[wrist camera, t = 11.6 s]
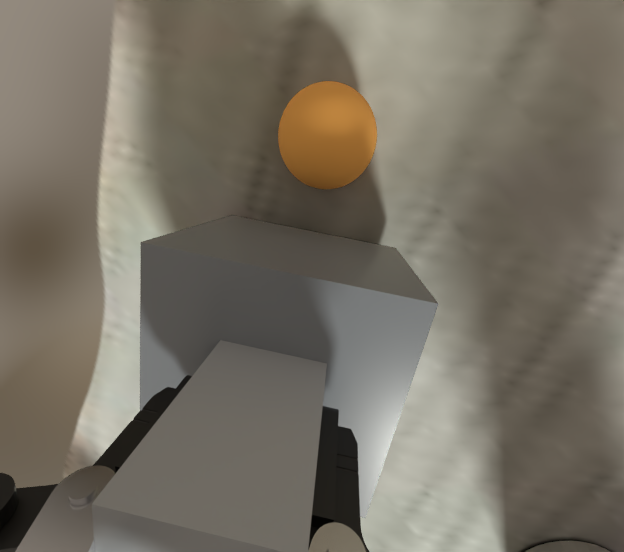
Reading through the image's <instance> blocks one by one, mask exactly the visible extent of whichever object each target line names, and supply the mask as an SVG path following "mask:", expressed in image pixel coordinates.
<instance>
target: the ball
mask: <svg viewBox="0 0 624 552" xmlns="http://www.w3.org/2000/svg"><path fill="white" fill-rule="evenodd" d="M376 141H377V128H376V122H375V118H374V115H373V112H372V110H371V108H370V106H369V104H368V103H367V101H366V100H365V99H364V97H363V96H362V95H361V94H360V93H358V92H357V91H356V90H355V89H353V88H352V87H350V86H348V85H345V84H343V83H339V82H334V81H322V82H318V83H314V84H311V85H309V86H307V87H305V88H303V89H302V90H301V91H299V92H298V93H297V94H296V95H295V96H294V97H293V98H292V99H291V101H290V102H289V103H288V105H287V106H286V108H285V110H284V112H283V115H282V117H281V120H280V124H279V130H278V142H279V148H280V153H281V156H282V158H283V161H284V163H285V165H286V166H287V168H288V169H289V171H290V172H291V173H292V174H293V175H294V176H295V177H296V178H297V179H298V180H300V181H301V182H303V183H304V184H306V185H308V186H311V187H314V188H317V189H336V188H339V187H343V186H345V185H347V184H349V183H351V182H352V181H354V180H355V179H356V178H358V177H359V176H360V175H361V174H362V173H363V172H364V170H365V169H366V168H367V166H368V164H369V163H370V161H371V159H372V156H373V154H374V150H375V147H376Z"/></svg>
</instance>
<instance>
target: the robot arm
mask: <svg viewBox="0 0 624 552" xmlns="http://www.w3.org/2000/svg"><path fill="white" fill-rule="evenodd" d="M191 377H192V376H190V375H187V376H186V377H185V378H184V379H183V380H182V381H181V383H180V384H179V385H178V386H177V388H176V389H175V388H171V387H166V388H165V389H163V390H162V391H160V392H158V393H157V394H155V395H154V396H152V398H151V399H150V400H149V401H148V402H147V403H146V405H145V406H144V407H143V409H142V411H141V410H140V412H139V413H138V414H137V415H136V416H135V417H134V420H133V421H131V422H130V423H129V424H128V426H127V427H126V428H125V429H124V430H123V431H122V433H121V434H120V435H119V436H118V437H117V438H116V440H115V441H114V442H113V443H112V444H111V445H110V447H109V448H108V449H107V450H106V451H105V452H104V454H103V455H102V456H101V457H100V458H99V459H98V461H97V462H96V463H95V464H94V465H93V466H90V467H86V468H83V469H80V470H78V471H76V472H74V473H72V474H71V475H69V476H68V477H66V478H65V479H64V480H62V481H61V482H60V483H59V484H55V485H48V486H37V487H27V488H16V487H15V483H14V480H13V478H12V477H11V476H9V475H7V474H4V473H0V552H96V551H95V538H94V532H93V517H92V503H93V502H94V501H95V499H96V498H97V497H98V495H99V494H100V493H101V492H102V490H103V489H104V488H105V487H106V485H107V484H108V483H109V481H110V480H111V479H112V478H113V476H114V475H115V474H116V473H117V471H118V470H119V469H120V467H121V466H122V465H123V464H124V462H125V461H126V460H127V459H128V457H129V456H130V455H131V453H132V452H133V451H134V450H135V448H136V447H137V446H138V445H139V443H140V442H141V441H142V439H143V438H144V437H145V436H146V434H147V433H148V432H149V431H150V429H151V428H152V427H153V425H154V424H155V423H156V422H157V420H158V419H159V418H160V417H161V415H162V414H163V413H164V411H165V410H166V409H167V408H168V406H169V405H170V404H171V403H172V401H173V400H174V399H175V398H176V396H177V395H178V394H179V392H180V391H181V390H182V389H183V387H184V386H185V385H186V384H187V382H188V381H189V380H190V378H191ZM338 418H339V410H338V409H335V408H330V407H326V406H323V408H322V418H321V428H320V438H319V448H318V458H317V468H316V477H315V487H314V497H313V507H312V517H311V527H310V537H309V547H308V552H369V550H368V549H367V547H366V545H365V543H364V540H363V537H362V533H361V526H360V499H359V475H358V471H359V470H358V443H357V441H356V439H355V437H354V434H353V432H352V430H351V429H349V428H345V427H340V426H338ZM525 552H610V551H608V550H607V549H605V548H602V547H600V546H598V545H595V544H591V543H587V542H580V541H556V542H549V543H545V544H542V545H538V546H535V547H533V548H531V549H529V550H527V551H525Z"/></svg>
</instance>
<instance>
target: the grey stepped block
mask: <svg viewBox="0 0 624 552" xmlns="http://www.w3.org/2000/svg"><path fill="white" fill-rule="evenodd" d="M437 306H438V303H437V301H436V300H435V299H434V297H433V296H432V295H431V294H430V292H429V291H428V290H427V288H426V287H425V286H424V284H423V283H422V282H421V280H420V279H419V278H418V276H417V275H416V274H415V273H414V271H413V270H412V269H411V267H410V266H409V265H408V263H407V262H406V261H405V259H404V258H403V257H402V256H401V254H400V253H399V252H398V250H397V249H396V248H393V247H388V246H383V245H378V244H373V243H368V242H363V241H358V240H353V239H348V238H343V237H338V236H333V235H328V234H323V233H318V232H313V231H308V230H303V229H298V228H293V227H288V226H283V225H278V224H273V223H268V222H263V221H258V220H253V219H248V218H243V217H238V216H233V215H231V216H228V217H224V218H221V219H217V220H214V221H211V222H207V223H204V224H201V225H197V226H194V227H190V228H187V229H184V230H180V231H177V232H174V233H170V234H167V235H163V236H160V237H157V238H153V239H150V240H146V241H143V242H141V309H140V410H141V411H142V409H143V407H144V406H145V405H146V403H147V402H148V401H149V400H150V399H151V398H152V396H154V395H155V394H157V393H158V392H160V391H162V390H163V389H165V388H166V387H171V388H175V389H176V388H177V386H178V385H179V384H180V383H181V381H182V380H183V379H184V378H185V377H186V376H187V375H190V376H192V377H191V378H190V380H189V381H188V382H187V384H186V385H185V386H184V387H183V389H182V390H181V391H180V392H179V394H178V395H177V396H176V398H175V399H174V400H173V401H172V403H171V404H170V405H169V406H168V408H167V409H166V410H165V411H164V413H163V414H162V415H161V417H160V418H159V419H158V420H157V422H156V423H155V424H154V425H153V427H152V428H151V429H150V431H149V432H148V433H147V434H146V436H145V437H144V438H143V439H142V441H141V442H140V443H139V445H138V446H137V447H136V448H135V450H134V451H133V452H132V453H131V455H130V456H129V457H128V459H127V460H126V461H125V462H124V464H123V465H122V466H121V467H120V469H119V470H118V471H117V473H116V474H115V475H114V476H113V478H112V479H111V480H110V481H109V483H108V484H107V485H106V487H105V488H104V489H103V490H102V492H101V493H100V494H99V495H98V497H97V498H96V499H95V501H94V502H93V503H92V517H93V532H94V538H95V551H96V552H308V547H309V537H310V527H311V517H312V507H313V497H314V487H315V477H316V468H317V458H318V448H319V438H320V428H321V418H322V408H323V406H326V407H330V408H335V409H338V410H339V418H338V426H340V427H345V428H349V429H351V430H352V432H353V434H354V437H355V439H356V441H357V443H358V470H359V471H358V475H359V499H360V517H362V518H366V515H367V512H368V509H369V506H370V503H371V500H372V497H373V494H374V492H375V489H376V486H377V483H378V480H379V477H380V474H381V471H382V468H383V465H384V462H385V459H386V456H387V453H388V450H389V447H390V444H391V442H392V439H393V436H394V433H395V430H396V427H397V424H398V421H399V418H400V415H401V412H402V409H403V406H404V403H405V400H406V397H407V394H408V392H409V389H410V386H411V383H412V380H413V377H414V374H415V371H416V368H417V365H418V362H419V359H420V356H421V353H422V350H423V347H424V344H425V342H426V339H427V336H428V333H429V330H430V327H431V324H432V321H433V318H434V315H435V312H436V309H437Z"/></svg>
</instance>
